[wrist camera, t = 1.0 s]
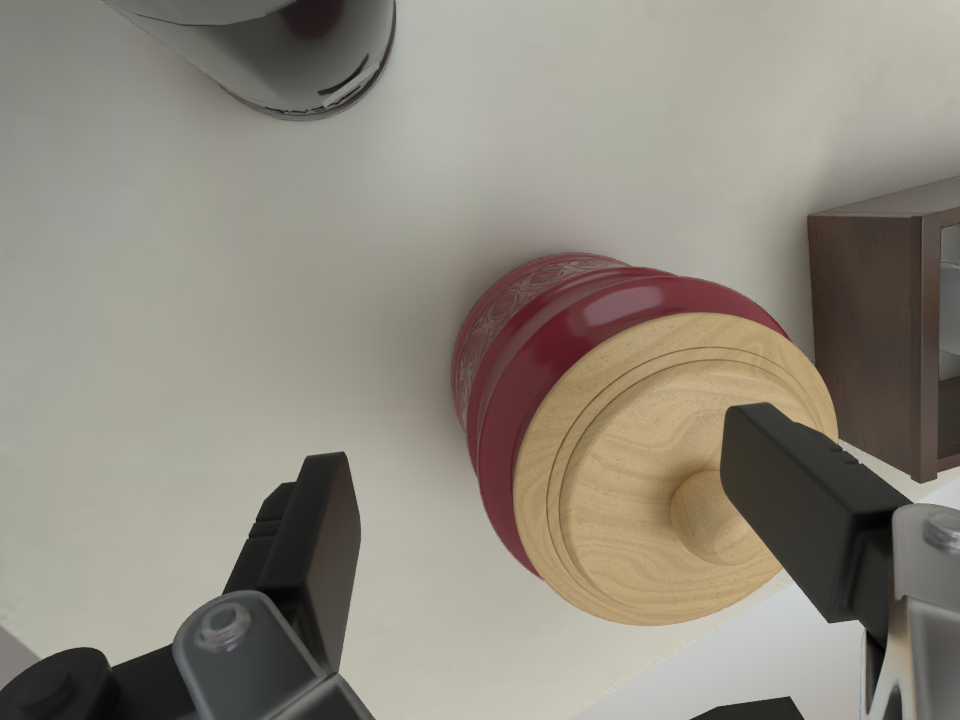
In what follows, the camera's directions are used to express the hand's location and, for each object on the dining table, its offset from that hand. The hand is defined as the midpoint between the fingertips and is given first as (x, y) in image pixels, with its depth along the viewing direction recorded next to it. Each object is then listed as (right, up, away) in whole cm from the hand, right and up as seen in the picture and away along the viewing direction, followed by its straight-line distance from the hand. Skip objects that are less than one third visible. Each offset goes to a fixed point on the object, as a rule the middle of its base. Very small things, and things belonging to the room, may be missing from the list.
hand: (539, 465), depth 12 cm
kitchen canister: (+3, +2, +20) cm, 21 cm away
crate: (+25, +6, +22) cm, 34 cm away
